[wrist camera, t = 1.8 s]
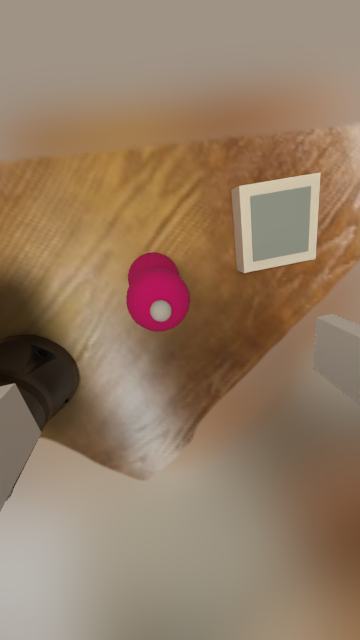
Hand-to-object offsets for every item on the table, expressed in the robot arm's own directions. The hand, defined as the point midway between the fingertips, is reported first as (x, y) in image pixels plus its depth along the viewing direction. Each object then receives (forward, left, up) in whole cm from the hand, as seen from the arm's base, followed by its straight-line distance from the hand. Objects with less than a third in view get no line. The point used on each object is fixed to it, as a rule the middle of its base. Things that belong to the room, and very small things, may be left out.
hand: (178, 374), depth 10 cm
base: (+20, +4, -28) cm, 35 cm away
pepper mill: (0, 0, -29) cm, 29 cm away
